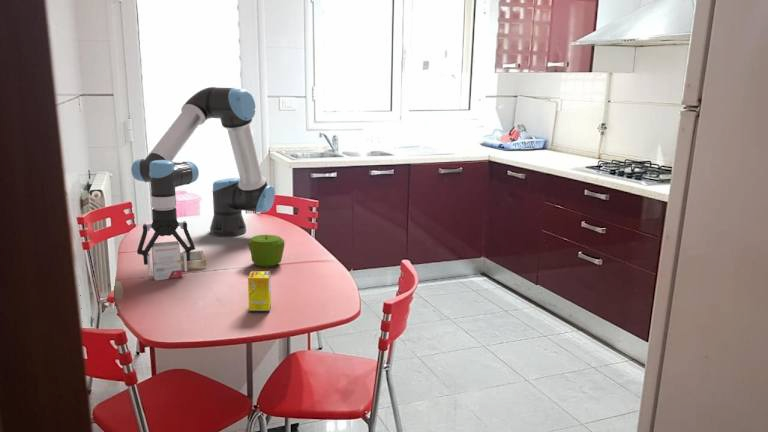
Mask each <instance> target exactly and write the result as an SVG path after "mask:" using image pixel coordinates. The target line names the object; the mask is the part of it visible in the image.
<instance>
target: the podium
mask: <svg viewBox="0 0 768 432" xmlns="http://www.w3.org/2000/svg"><path fill="white" fill-rule="evenodd" d="M180 260H181V272H182V271H185V270H184V254H183V251H182V252H181V251H180ZM201 269H207V259H206V257H205V254H204V251H203V250H192V251H190V261H187V271H192V270H201Z"/></svg>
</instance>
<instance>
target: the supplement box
mask: <svg viewBox="0 0 768 432" xmlns="http://www.w3.org/2000/svg"><path fill="white" fill-rule="evenodd" d="M271 277H272V275H271V271H267V270H266V271H259V270H258V271H257V270H254V271H253V270H252V271H250V272H249V275H248V277H247V279H248V280H247V284H248V285H247V286H248V287H247V289H248V313H249V314H269V313H270V311H271V308H272V291H271V290H272V289H271V288H272V284H271V282H272V281H271V279H272V278H271Z"/></svg>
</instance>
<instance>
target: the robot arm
mask: <svg viewBox="0 0 768 432" xmlns="http://www.w3.org/2000/svg"><path fill="white" fill-rule="evenodd" d="M255 109H256V103H255V98H254V96H253V94H252V93H251V92H250V91H249V90H247V89H245V88H239V87H216V86H215V87H214V86H211V87H209V86H208V87H206V88H203V89H200V90H199V91H198V92H197V91H196V93H194V94H193V95H192V96H191V97H189V99H188V100H187V101H185V103H184V104H183V106H182V107H181V109H180V111H181V112H180V114H179V115H178V116H177V118H176V119H175V120H174V122H173V123H172V124H171V126H169V128H168V129H167V131H166V132H165V133H164V134H163V135H162V137H161V138H160V140H159V141H158V142H157V143H156V144H155V146H154V147H153V149H151V151H150V152H149V154H148V155H147V156H146V157H145V159H144V158H141V159H136V160H134V162H133V163H132V165H131V169H130V170H131V171H130V172H131V175H132V177H133V178H134V179H135V180H136V181H138V182H144V183H150V200H151V202H150V204H151V208H152V209H151V215H152V216H151V218H152V222H151V224H150V223H149V224H147V223H143V224H142V234H141V237H140V241H139V243H138V247H137V249H136V252H137V255H142V256H143V264H144V265H143V266H147V271H148V272H147V273H148V275H149V276H150V275H151V274H152V271H151V269H152V268H151V259H150V258H151V257H150V256H151V255H150V253H149V252H150V251H151V250H152V246H153V244H154V243H156V241H157V240H158V238H159V237H165V236H167V237H169V236H170V237H171V236H173V237H174V238H175V239H176V241H178V243H179V245H180V246H181V247H182V248H183V251H182V252H183V254H184V270H183V271H184V272H188V270H187V261H190V252H192V251H196V246H195V244H194V242H193V239H192V237H191V234H190V233H189V229H188V223H187V221H186V220H185V221H182V222H179V221H178V217H177V216H178V215H177V208H176V207H177V199H176V197H177V196H176V188H178V187H182V186H186V185H190V184H193V183H194V182H196V181H198V178H199V175H200V174H199V173H200V172H199V168H198V166H197V165H196V164H195V163H194V162H192V161H182V162H177V161H176V162H175V161H173V160H174V159H175V158H176V156H177V155H178V153H180V151H181V149H183V147H184V146H185V144H186V143H187V142H188V140H189V139H190V137H191V136H192V135H193V134H194V132H195V130H196V129H197V128H198V127H199V126H201V125H203V124H204V123H205V122H206V121H207V120H208V119H220V121H221V122H220V123H221V126H222V127H223V128H225V129H226V130H227V133H228V138H229V141H230V145H231V148H232V152H233V155H234V160H235V164H236V167H237V172H238V175H239V177H233V178H229V177H228V178H223V179H218V180H215V181H214V182H213V183H212V191H211V192H212V204H213V207H212V208H213V217H212V220H211V223H210V227H209V230H210V232H209V233H210V234H211V235H213V236H217V237H234V236H240V235H244V234H246V232H247V224H246V222H245V219H244V216H243V213H242V212H243V211H244V212H245V211H246V212H255V213H267V212H269V211H270V210H271V208H272V207H273V205H274V201H275V196H276V194H275V193H276V191H275V188H274V186H273V185H272V184H268V183H267V179H266V177H265V176H263V175H262V174H261V173H262V172H261V169H260V165H259V160H258V155H257V152H256V148H255V143H254V140H253V135H252V131H251V127H250V124H252V122H253V118H254V117H255V115H256V110H255ZM178 227H180V229H182V230H183V233H184V235H185V237H186V239H187V242H188V244H189V246H188V245H187V243H186V242H185V241H184V240H183V238H182V237H181V236H180V235H179V234H178V233H179V232H177V231H176V230H177V229H178ZM150 229H152V230H153V231H154V233H153V235H152V237H151V238H150V239H149V242H148V243H147V244H146V246H145V248H144V245H145V242H146V239H147V238H146V237H147V235H148V232H149V231H150ZM143 248H144V249H143Z"/></svg>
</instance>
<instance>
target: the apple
mask: <svg viewBox="0 0 768 432" xmlns="http://www.w3.org/2000/svg"><path fill="white" fill-rule="evenodd" d="M247 243H248V244H247V245H248V249H249V251H250V255H251V261H252V263H253V264H254V265H256V266H258V267H260V268H273V267H275V266H277V265H278V264H280V263H281V262H282V258H283V254H284V249H285V246H286V245H285V240H284V238H282V237H281V236H278V235H276V234H275V235H273V234H258V235H255V236H252V237H251V238H250V239H249V240H248V242H247Z"/></svg>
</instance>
